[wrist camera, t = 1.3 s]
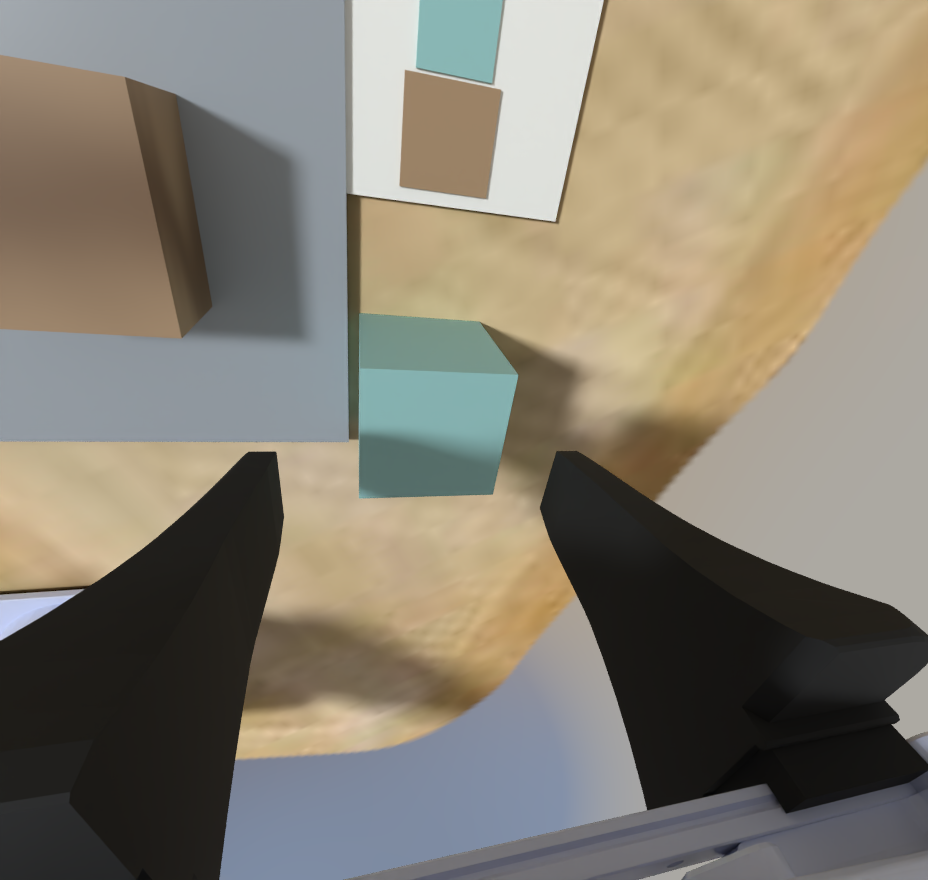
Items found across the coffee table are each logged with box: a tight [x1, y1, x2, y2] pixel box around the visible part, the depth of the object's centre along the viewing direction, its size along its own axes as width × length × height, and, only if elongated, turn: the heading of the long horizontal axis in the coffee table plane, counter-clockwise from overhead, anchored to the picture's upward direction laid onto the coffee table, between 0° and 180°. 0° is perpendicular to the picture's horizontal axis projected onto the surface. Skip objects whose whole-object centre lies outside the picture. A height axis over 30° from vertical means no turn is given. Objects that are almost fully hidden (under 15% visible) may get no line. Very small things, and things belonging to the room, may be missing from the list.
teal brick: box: [359, 313, 518, 498], centre depth 15 cm, size 4×4×5 cm
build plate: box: [0, 0, 349, 442], centre depth 13 cm, size 14×14×1 cm
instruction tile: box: [345, 0, 604, 222], centre depth 12 cm, size 6×8×1 cm
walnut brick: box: [0, 55, 212, 339], centre depth 11 cm, size 6×6×3 cm
